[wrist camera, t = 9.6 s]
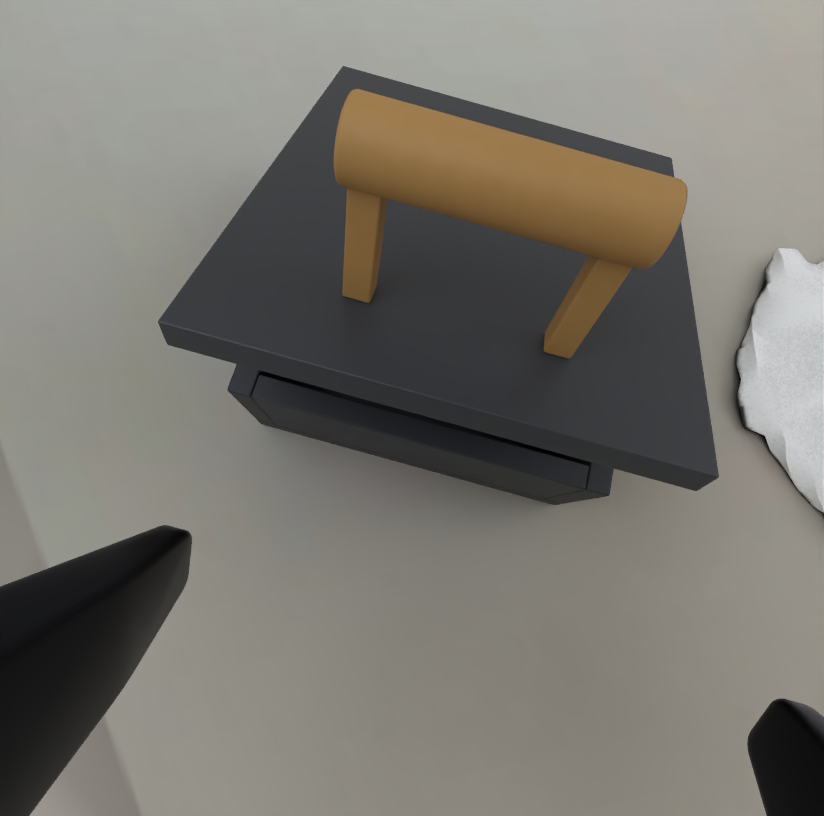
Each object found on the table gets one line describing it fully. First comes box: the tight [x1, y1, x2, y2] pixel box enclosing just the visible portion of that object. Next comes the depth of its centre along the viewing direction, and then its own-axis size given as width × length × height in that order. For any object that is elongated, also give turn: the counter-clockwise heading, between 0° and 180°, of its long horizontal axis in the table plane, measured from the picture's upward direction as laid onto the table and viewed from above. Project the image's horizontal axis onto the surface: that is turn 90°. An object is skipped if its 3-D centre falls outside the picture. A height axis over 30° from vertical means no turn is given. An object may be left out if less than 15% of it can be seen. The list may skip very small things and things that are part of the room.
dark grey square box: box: [228, 364, 613, 505], centre depth 19 cm, size 13×13×5 cm
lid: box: [158, 66, 719, 491], centre depth 13 cm, size 13×13×5 cm
